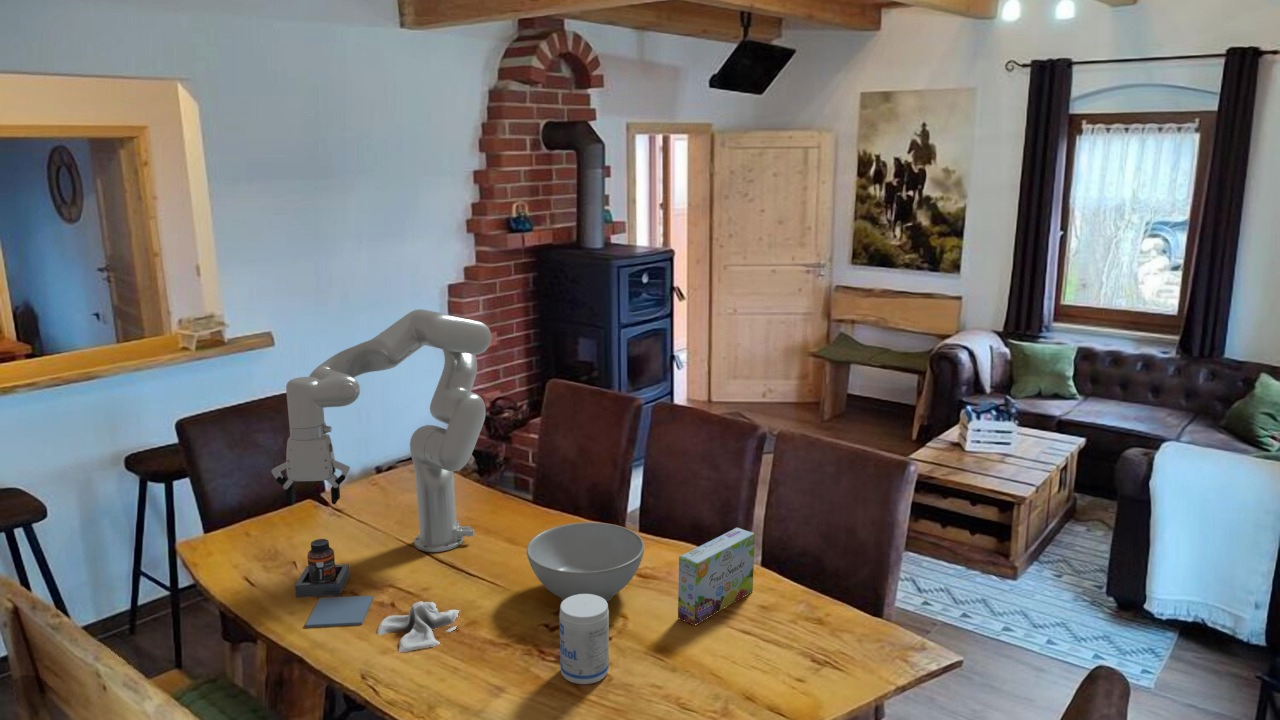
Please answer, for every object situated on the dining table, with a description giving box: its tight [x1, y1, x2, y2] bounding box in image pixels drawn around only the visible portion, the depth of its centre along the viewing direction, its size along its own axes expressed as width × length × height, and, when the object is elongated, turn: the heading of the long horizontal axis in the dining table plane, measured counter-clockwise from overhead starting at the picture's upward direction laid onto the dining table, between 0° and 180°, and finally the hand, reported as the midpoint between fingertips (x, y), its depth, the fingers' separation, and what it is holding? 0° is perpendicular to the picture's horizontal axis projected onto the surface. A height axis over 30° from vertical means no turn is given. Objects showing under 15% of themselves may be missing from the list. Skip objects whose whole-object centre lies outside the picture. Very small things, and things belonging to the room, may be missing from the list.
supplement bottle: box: [307, 538, 337, 583], centre depth 214 cm, size 6×6×11 cm
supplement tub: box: [558, 594, 610, 685], centre depth 177 cm, size 10×10×15 cm
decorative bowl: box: [526, 521, 645, 602], centre depth 208 cm, size 27×27×12 cm
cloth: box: [376, 600, 460, 653], centre depth 197 cm, size 22×19×6 cm
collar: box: [294, 563, 351, 599], centre depth 214 cm, size 10×10×3 cm
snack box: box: [677, 527, 756, 626], centre depth 202 cm, size 21×6×15 cm, turn 137°
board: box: [304, 595, 374, 628], centre depth 203 cm, size 12×12×1 cm
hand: (313, 502), depth 210 cm, fingers open, 9 cm apart
